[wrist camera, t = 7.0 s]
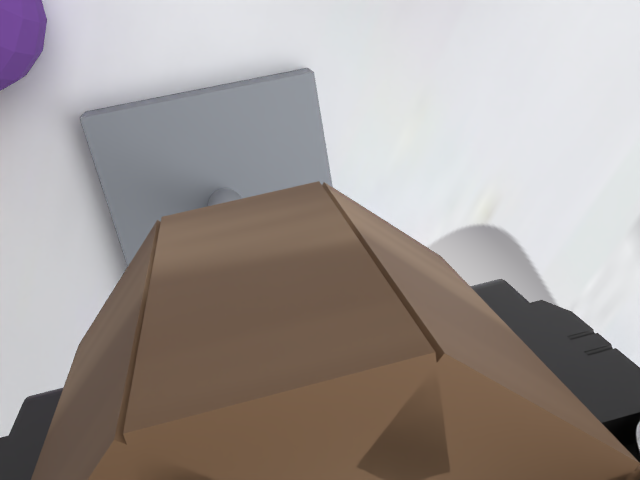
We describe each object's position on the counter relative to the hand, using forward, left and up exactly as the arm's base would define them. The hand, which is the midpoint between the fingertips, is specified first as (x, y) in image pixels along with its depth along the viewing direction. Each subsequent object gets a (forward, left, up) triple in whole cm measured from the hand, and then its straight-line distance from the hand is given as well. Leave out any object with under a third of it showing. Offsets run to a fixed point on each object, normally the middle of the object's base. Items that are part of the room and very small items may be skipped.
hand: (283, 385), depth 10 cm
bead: (0, 0, -1) cm, 1 cm away
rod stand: (+3, -1, -20) cm, 20 cm away
